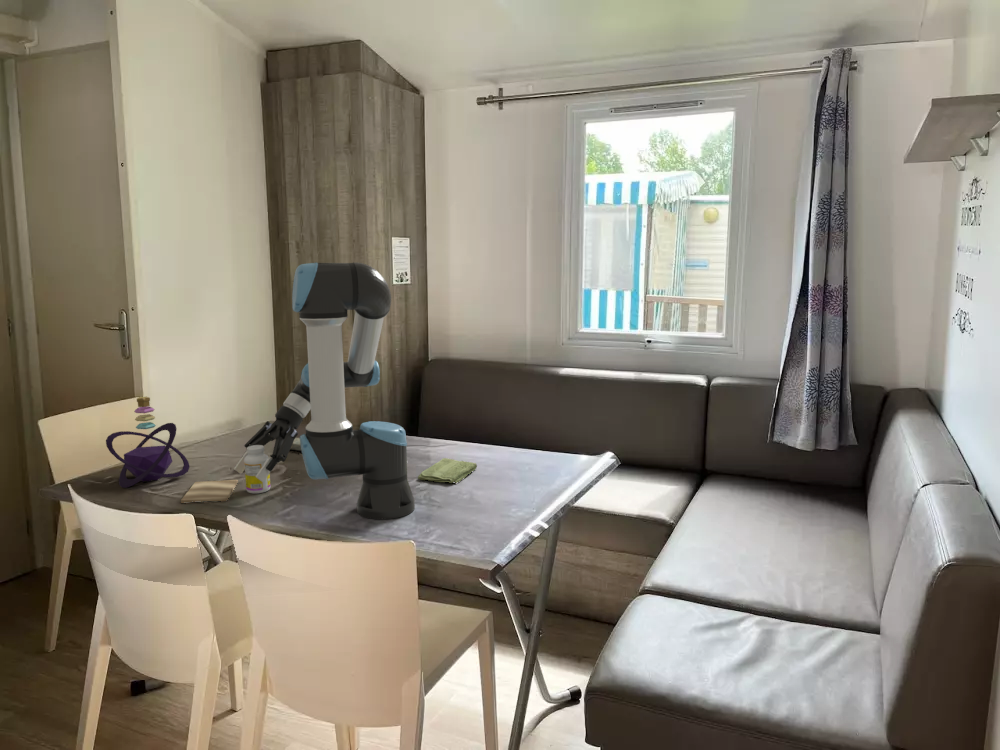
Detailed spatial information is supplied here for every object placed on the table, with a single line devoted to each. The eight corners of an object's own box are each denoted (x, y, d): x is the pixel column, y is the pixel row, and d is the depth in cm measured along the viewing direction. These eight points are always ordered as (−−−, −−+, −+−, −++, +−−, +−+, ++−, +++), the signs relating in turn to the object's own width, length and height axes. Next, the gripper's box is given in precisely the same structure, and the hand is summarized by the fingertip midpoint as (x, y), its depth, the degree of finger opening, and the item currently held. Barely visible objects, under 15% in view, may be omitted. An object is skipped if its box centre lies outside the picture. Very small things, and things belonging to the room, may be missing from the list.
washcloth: (415, 482, 219) (415, 471, 218) (443, 465, 235) (443, 456, 234) (454, 487, 214) (454, 476, 213) (480, 470, 230) (480, 460, 229)
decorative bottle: (100, 478, 222) (92, 397, 218) (171, 463, 237) (164, 387, 233) (127, 495, 207) (118, 408, 202) (200, 478, 221) (194, 397, 217)
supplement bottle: (262, 485, 215) (259, 442, 213) (275, 489, 211) (272, 446, 209) (241, 491, 210) (238, 447, 208) (254, 495, 206) (251, 451, 204)
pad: (227, 501, 202) (227, 497, 202) (181, 503, 200) (180, 500, 200) (238, 482, 217) (238, 479, 217) (195, 485, 215) (195, 481, 215)
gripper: (324, 425, 211) (280, 490, 203) (279, 413, 226) (236, 474, 218) (308, 410, 207) (261, 476, 198) (262, 399, 222) (217, 460, 213)
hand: (248, 475), depth 208 cm, fingers open, 11 cm apart
